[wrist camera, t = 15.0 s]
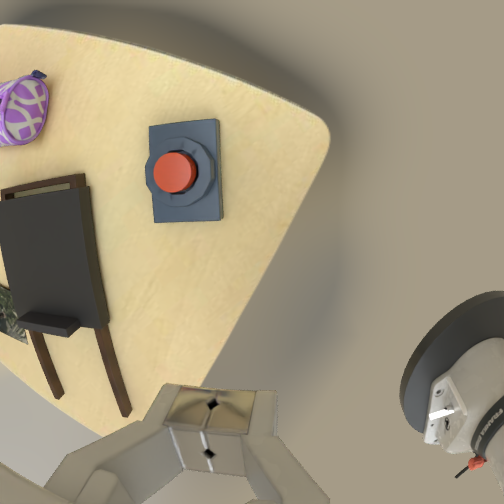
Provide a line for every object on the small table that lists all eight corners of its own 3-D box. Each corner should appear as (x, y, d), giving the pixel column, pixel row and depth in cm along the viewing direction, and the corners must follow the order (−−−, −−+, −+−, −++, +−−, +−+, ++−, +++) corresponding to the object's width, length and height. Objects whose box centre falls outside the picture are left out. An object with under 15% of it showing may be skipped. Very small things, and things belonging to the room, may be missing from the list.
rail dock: (132, 409, 41) (127, 418, 39) (60, 392, 43) (54, 398, 41) (84, 173, 32) (75, 174, 30) (9, 188, 34) (0, 189, 32)
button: (197, 189, 29) (192, 191, 27) (161, 192, 29) (154, 193, 27) (195, 151, 28) (190, 150, 26) (159, 154, 28) (152, 154, 26)
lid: (110, 321, 37) (89, 341, 32) (25, 310, 38) (4, 324, 33) (89, 186, 32) (61, 190, 27) (4, 200, 34) (-21, 206, 29)
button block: (223, 218, 32) (216, 224, 29) (160, 220, 33) (146, 226, 30) (219, 120, 30) (211, 115, 26) (154, 127, 30) (140, 124, 27)
